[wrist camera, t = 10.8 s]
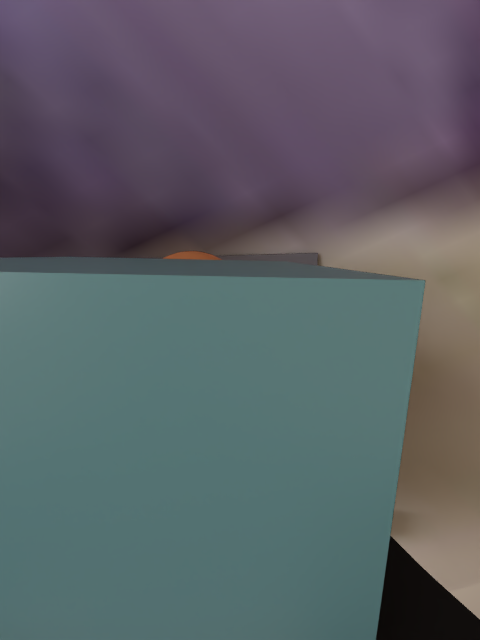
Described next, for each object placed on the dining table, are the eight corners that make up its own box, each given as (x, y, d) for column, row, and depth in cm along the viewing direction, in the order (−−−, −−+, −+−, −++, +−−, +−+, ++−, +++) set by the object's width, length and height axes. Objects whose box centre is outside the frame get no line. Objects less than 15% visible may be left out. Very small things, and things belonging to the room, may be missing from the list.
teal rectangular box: (95, 569, 10) (-114, 1040, 4) (68, 256, 8) (-421, 263, 2) (270, 570, 10) (320, 1032, 4) (285, 261, 8) (425, 280, 2)
